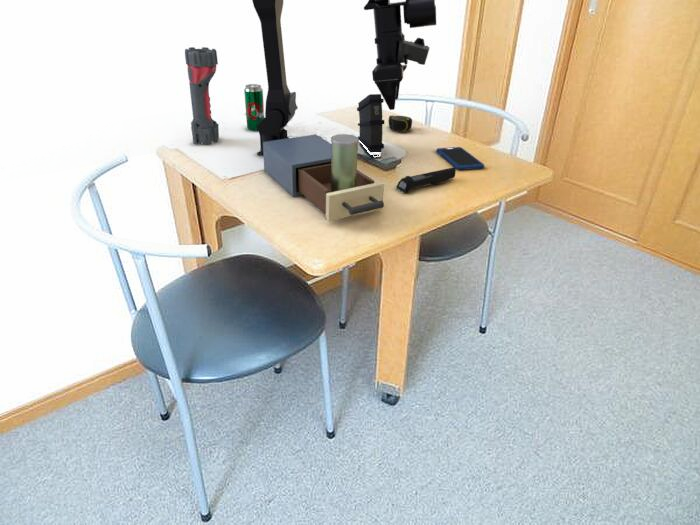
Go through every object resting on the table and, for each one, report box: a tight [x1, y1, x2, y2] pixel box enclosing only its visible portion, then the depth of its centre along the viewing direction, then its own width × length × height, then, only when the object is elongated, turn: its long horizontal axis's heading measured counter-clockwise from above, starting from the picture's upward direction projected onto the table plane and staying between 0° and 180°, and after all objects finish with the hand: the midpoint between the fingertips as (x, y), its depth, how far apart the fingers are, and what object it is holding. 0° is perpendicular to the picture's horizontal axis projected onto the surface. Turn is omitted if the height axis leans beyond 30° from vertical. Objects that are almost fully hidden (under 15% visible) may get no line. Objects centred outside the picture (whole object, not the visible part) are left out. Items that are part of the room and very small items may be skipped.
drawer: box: [298, 163, 385, 222], centre depth 97 cm, size 19×12×5 cm, turn 31°
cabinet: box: [263, 133, 332, 198], centre depth 109 cm, size 16×14×7 cm
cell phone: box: [435, 146, 485, 171], centre depth 125 cm, size 7×14×1 cm, turn 15°
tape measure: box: [387, 115, 413, 133], centre depth 143 cm, size 7×7×4 cm
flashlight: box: [184, 46, 220, 146], centre depth 124 cm, size 8×8×23 cm
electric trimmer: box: [396, 167, 457, 194], centre depth 110 cm, size 4×16×3 cm, turn 122°
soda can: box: [243, 83, 265, 132], centre depth 137 cm, size 5×5×12 cm
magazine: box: [356, 93, 385, 159], centre depth 125 cm, size 4×13×15 cm, turn 15°
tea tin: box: [330, 133, 359, 192], centre depth 95 cm, size 5×5×12 cm
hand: (393, 104), depth 113 cm, fingers open, 9 cm apart
